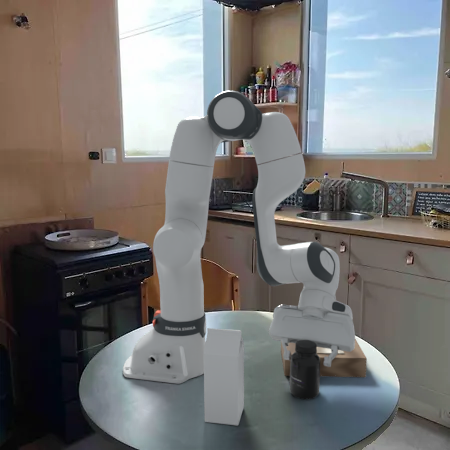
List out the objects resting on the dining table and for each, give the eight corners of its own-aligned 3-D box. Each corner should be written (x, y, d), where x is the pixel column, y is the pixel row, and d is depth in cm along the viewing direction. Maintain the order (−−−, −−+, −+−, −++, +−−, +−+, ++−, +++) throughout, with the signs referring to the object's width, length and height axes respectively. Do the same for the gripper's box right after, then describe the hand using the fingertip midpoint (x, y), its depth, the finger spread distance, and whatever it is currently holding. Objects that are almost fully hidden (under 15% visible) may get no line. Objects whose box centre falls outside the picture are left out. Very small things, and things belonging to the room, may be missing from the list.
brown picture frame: (284, 375, 114) (284, 355, 113) (280, 351, 127) (281, 333, 127) (365, 377, 112) (366, 357, 112) (353, 353, 126) (353, 334, 126)
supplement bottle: (288, 398, 103) (289, 348, 101) (291, 383, 110) (291, 336, 108) (319, 402, 101) (320, 351, 100) (320, 387, 108) (321, 339, 106)
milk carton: (238, 426, 92) (238, 337, 90) (204, 422, 94) (203, 334, 91) (244, 407, 99) (243, 324, 96) (212, 404, 101) (211, 322, 98)
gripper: (273, 297, 114) (260, 349, 107) (357, 307, 106) (350, 364, 99) (278, 309, 119) (266, 360, 112) (358, 319, 111) (352, 374, 104)
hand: (306, 362), depth 105 cm, fingers open, 8 cm apart
